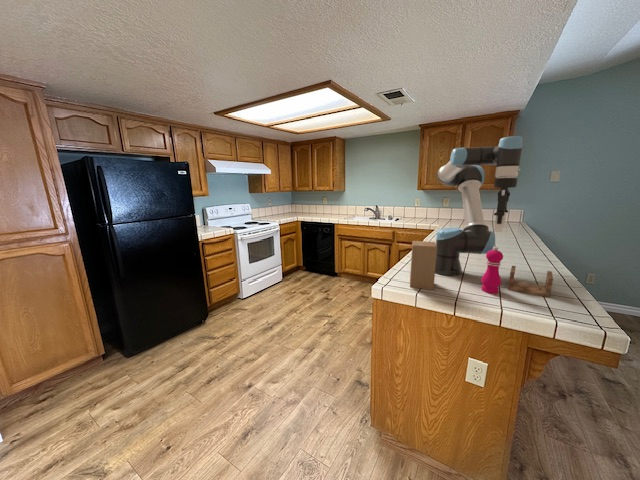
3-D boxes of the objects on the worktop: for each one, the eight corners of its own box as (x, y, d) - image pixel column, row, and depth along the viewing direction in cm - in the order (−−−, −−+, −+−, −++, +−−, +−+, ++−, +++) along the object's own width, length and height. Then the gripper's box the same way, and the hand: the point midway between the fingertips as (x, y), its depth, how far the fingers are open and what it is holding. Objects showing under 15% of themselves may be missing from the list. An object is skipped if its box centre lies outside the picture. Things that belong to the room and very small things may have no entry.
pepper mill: (502, 294, 108) (509, 249, 104) (484, 293, 110) (490, 248, 105) (495, 288, 115) (501, 245, 111) (477, 287, 117) (482, 244, 112)
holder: (507, 289, 114) (510, 271, 112) (509, 281, 122) (512, 265, 120) (549, 297, 105) (553, 278, 103) (548, 289, 113) (551, 271, 111)
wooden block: (431, 282, 123) (435, 241, 119) (433, 290, 114) (437, 246, 110) (410, 279, 127) (412, 240, 122) (409, 287, 117) (412, 245, 113)
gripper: (517, 176, 91) (509, 235, 95) (518, 178, 110) (511, 226, 115) (492, 177, 96) (485, 233, 100) (497, 178, 115) (491, 225, 119)
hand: (499, 229), depth 107 cm, fingers open, 13 cm apart
